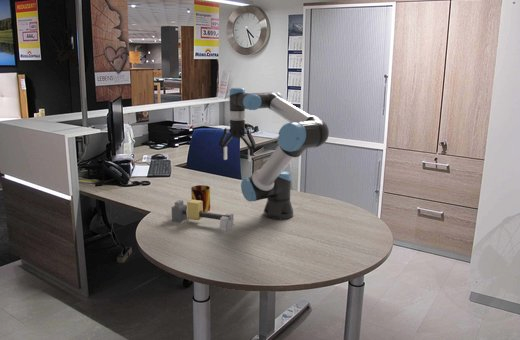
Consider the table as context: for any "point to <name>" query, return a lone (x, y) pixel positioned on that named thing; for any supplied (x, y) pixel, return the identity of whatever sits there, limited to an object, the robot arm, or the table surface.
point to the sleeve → (194, 209)
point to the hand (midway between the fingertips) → (237, 160)
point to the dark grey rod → (207, 215)
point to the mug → (202, 195)
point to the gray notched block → (226, 222)
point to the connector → (178, 211)
